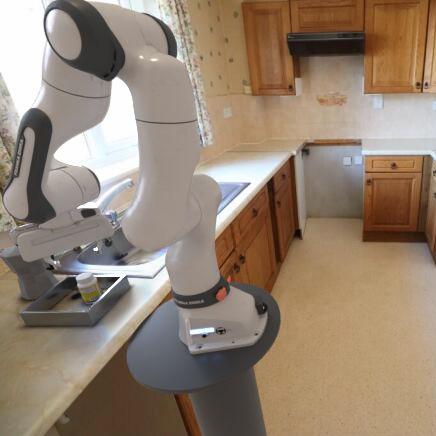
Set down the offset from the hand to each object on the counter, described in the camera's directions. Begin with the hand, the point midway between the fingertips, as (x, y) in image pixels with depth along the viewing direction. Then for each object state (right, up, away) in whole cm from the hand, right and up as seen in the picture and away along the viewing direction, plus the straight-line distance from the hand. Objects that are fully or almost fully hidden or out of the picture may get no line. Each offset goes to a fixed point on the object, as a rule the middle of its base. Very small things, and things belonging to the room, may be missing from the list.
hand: (79, 261), depth 89 cm
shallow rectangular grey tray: (-2, -13, +4) cm, 14 cm away
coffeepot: (-19, -11, +11) cm, 24 cm away
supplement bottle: (0, -12, +6) cm, 13 cm away
